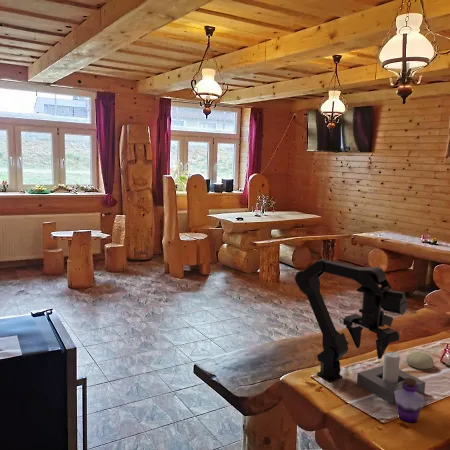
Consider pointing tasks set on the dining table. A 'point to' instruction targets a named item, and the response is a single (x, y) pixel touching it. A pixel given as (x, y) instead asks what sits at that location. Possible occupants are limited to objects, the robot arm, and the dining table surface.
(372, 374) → the block
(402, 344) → the dining table surface
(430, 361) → the sea urchin shell
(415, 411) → the potion bottle
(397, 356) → the beverage can
